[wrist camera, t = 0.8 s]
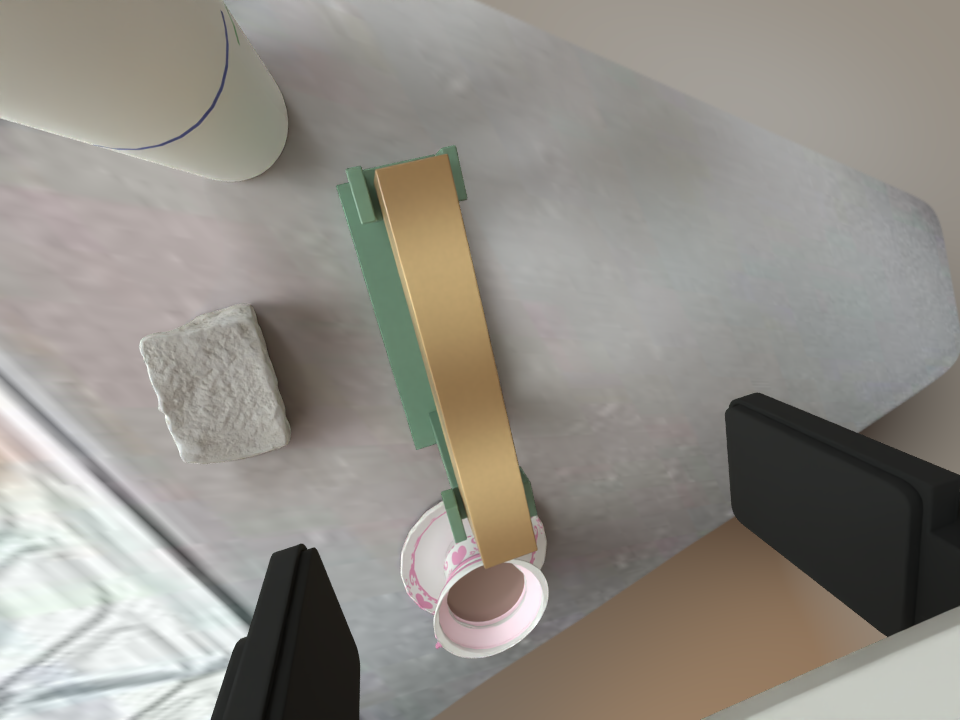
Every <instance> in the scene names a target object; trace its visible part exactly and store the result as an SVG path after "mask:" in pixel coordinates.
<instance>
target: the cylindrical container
mask: <svg viewBox="0 0 960 720" xmlns="http://www.w3.org/2000/svg"><path fill="white" fill-rule="evenodd" d="M0 118H1V119H5V120H8V121H12V122H15V123H19V124H22V125H26V126H29V127H33V128H36V129H39V130H43V131H46V132H50V133H53V134H57V135H60V136H64V137H67V138H71V139H74V140H78V141H81V142H85V143H88V144H92V145H95V146H98V147H102V148H105V149H109V150H112V151H116V152H119V153H123V154H126V155H129V156H133V157H136V158H140V159H143V160H147V161H150V162H154V163H157V164H161V165H164V166H167V167H171V168H174V169H178V170H181V171H185V172H188V173H192V174H195V175H199V176H202V177H206V178H209V179H213V180H218V181H224V182H237V181H243V180H248V179H251V178H253V177H255V176H258V175H260V174H262V173H263V172H264V171H266V170H267V169H268V168H270V167H271V166H272V165H273V164H274V162H275V161H276V160H277V159H278V158H279V156H280V154H281V152H282V150H283V148H284V146H285V142H286V138H287V134H288V116H287V109H286V105H285V102H284V99H283V96H282V94H281V92H280V90H279V88H278V86H277V84H276V82H275V80H274V79H273V77H272V76H271V74H270V73H269V71H268V70H267V68H266V67H265V65H264V63H263V62H262V60H261V59H260V57H259V56H258V54H257V53H256V51H255V50H254V48H253V47H252V45H251V43H250V42H249V40H248V39H247V37H246V36H245V34H244V33H243V31H242V30H241V28H240V26H239V25H238V23H237V22H236V20H235V19H234V17H233V16H232V14H231V13H230V11H229V10H228V8H227V6H226V5H225V3H224V2H223V0H0Z"/></svg>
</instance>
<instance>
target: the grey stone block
mask: <svg viewBox="0 0 960 720" xmlns="http://www.w3.org/2000/svg"><path fill="white" fill-rule="evenodd" d="M139 348H140V352H141V354H142V355H143V357H144V363H145V364H146V365H147V370H148V374H149V378H150V381H151V383H152V387H153V389H154V391H155V393H156V394H157V397H158V402H159V406H158V409H159V411H161V412H163V413H164V414H165V420H166V424H167V427H168V428H169V430H170V433H171V434H172V436H173V439H174V441H175V443H176V445H177V447H178V449H179V452H180V456H181V458H182V460H183V461H184V462H185V463H198V464H210V463H222V462H226V461H234V460H239V459H245V458H248V457H252V456H256V455H259V454H263V453H266V452H270V451H272V450H277V449H279V448H282V447H283V446H285V445H287V444H288V443H289V441H290V439H291V437H290V434H291V428H290V424H289V422H288V420H287V418H286V416H285V405H284V403H283V400H282V397H281V395H280V393H279V390H278V387H277V386H278V385H277V383H278V380H277V378H276V375H275V371H274V368H273V365H272V363H271V360H270V358H269V356H268V352H267V350H266V344H265V340H264V337H263V335H262V331H261V328H260V326H259V325H258V321H257V317H256V314H255V312H254V309H253V307H252V306H251V305H249V304H244V303H243V304H237V305H234V306H231V307H229V308H225V309H221V310H217V311H214V312H210V313H207V314H203V315H201V316H198V317H196V318H195V319H194V320H192V321H191V322H189V323H187V324H185V325H184V326H181V327H179V328H177V329H174V330H171V331H168V332H158V333H154V334H151V335H148V336H146V337H144V338H143V339H142V340H141V341H140V346H139Z"/></svg>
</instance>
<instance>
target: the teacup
mask: <svg viewBox="0 0 960 720" xmlns="http://www.w3.org/2000/svg"><path fill="white" fill-rule="evenodd" d="M462 522H463V525H464V529H465V532H466V536H467V540H465V541H462V542H459V543H455V540H454V537H453V533H452V530H451V527H450V523H449V520H448V516H447V513H446V510H445V506H444V502H443V501H441V502H440V503H438V504H437V505H435V506H434V507H433V508H431V509H430V510H428V511H427V512H425V513H424V514H423V516H422V517H421V518H420V519H419V520H418V522H417V523H416V524H415V525H414V526H413V528H412V529H411V530H410V531H409V534H408V536H407V539H406V541H405V544H404V546H403V549H402V551H401V570H400V574H401V577H402V580H403V583H404V586H405V588H406V591H407V594H408V595H409V596H410V597H411V598H412V599H413V600H414V601H415V602H416V603H417V605H418V606H419V607H420V608H422V609H424V610H426V611H428V612H430V613H432V614H434V631H435V637H436V639H438V642H437V644H436V648H437V649H438V648H439V647H442V648H444V649H446V650H447V651H448V652H450V653H452V654H454V655H456V656H460V657H464V658H482V657H488V656H491V655H495V654H498V653H500V652H502V651H505V650H507V649H509V648H510V647H512V646H514V645H515V644H517V643H518V642H520V641H521V640H522V639H523V638H525V637H526V636H527V635H528V634H529V633H530V632H531V631H532V630H533V629H534V627H535V626H536V625H537V623H538V622H539V620H540V619H541V617H542V615H543V613H544V611H545V609H546V606H547V602H548V584H547V581H546V579H545V577H544V575H543V573H542V572H541V571H540V570H541V568H542V566H543V564H544V562H545V555H546V547H547V540H546V535H545V531H544V527H543V523H542V521H541V520H540V519H539V517H538V516H534V517H531V522H532V526H533V530H534V535H535V539H536V544H537V548H538V550H537V551H535V552H532V553H529V554H526V555H524V556H521V557H518V558H515V559H513V560H510V561H507V562H504V563H501V564H499V565H496V566H493V567H490V568H488V569H485V568H484V565H483V562H482V559H481V556H480V553H479V550H478V547H477V544H476V542H475V539H474V536H473V533H472V530H471V527H470V524H469V521H468V518H465V519H462Z"/></svg>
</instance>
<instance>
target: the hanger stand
mask: <svg viewBox="0 0 960 720" xmlns="http://www.w3.org/2000/svg"><path fill="white" fill-rule="evenodd" d="M443 154H448V156H449V161H450V165H451V169H452V174H453V178H454V183H455V187H456V191H457V196H458V200H459V202H460V201H464V200H467V194H466V189H465V185H464V180H463V176H462V171H461V167H460V162H459V157H458V153H457V148H456V146H455V145H453V146H448V147H443V148H441V149H440V150H439V151H438V152H437V153H436V156H438V155H443ZM434 156H435V155H434V154H433V155H428V156H424V157H419V158H415V159H410V160H406V161H401V162H397V163H392V164H388V165H383V166H379V167H374V168H369V169H365V170H362V167H361V166H357V167H352V168H347V169H346V174H347V177H348V181H349V183H344V184H340V185H337V186H336V187H337V190H338V194H339V197H340V200H341V204H342V207H343V210H344V214H345V217H346V220H347V223H348V227H349V230H350V233H351V237H352V240H353V243H354V246H355V250H356V253H357V256H358V260H359V263H360V266H361V269H362V273H363V276H364V279H365V283H366V286H367V289H368V292H369V296H370V299H371V302H372V306H373V309H374V312H375V316H376V319H377V322H378V325H379V329H380V332H381V335H382V339H383V342H384V345H385V348H386V352H387V355H388V358H389V362H390V365H391V368H392V371H393V375H394V378H395V381H396V385H397V388H398V391H399V394H400V398H401V401H402V404H403V408H404V411H405V414H406V418H407V421H408V424H409V427H410V431H411V434H412V437H413V441H414V444H415V447H416V450H418V449H421V448H424V447H427V446H431V445H434V444H437V445H438V448H439V451H440V455H441V458H442V461H443V464H444V467H445V470H446V473H447V476H448V480H449V483H450V486H451V489H449V490H446V491H443V492H441V495H442V499H443V502H444V506H445V510H446V513H447V516H448V520H449V523H450V527H451V530H452V533H453V537H454V540H455V543H459V542H462V541H465V540H467V536H466V532H465V529H464V525H463V522H462V519H465V518H467V515H466V512H465V509H464V506H463V502H462V498H461V495H460V491H459V488H458V484H457V480H456V477H455V473H454V470H453V466H452V463H451V459H450V455H449V452H448V448H447V445H446V441H445V438H444V434H443V430H442V427H441V423H440V420H439V416H438V412H437V409H436V405H435V402H434V398H433V395H432V391H431V387H430V384H429V380H428V377H427V373H426V370H425V366H424V362H423V359H422V355H421V352H420V348H419V344H418V341H417V337H416V334H415V330H414V327H413V323H412V319H411V316H410V312H409V309H408V305H407V301H406V298H405V294H404V291H403V287H402V284H401V280H400V276H399V273H398V269H397V266H396V262H395V259H394V255H393V251H392V248H391V244H390V241H389V237H388V233H387V230H386V226H385V223H384V219H383V216H382V212H381V208H380V205H379V201H378V198H377V194H376V191H375V187H374V175H375V170H376V169H379V168H384V167H388V166H393V165H397V164H402V163H407V162H411V161H416V160H420V159H425V158H429V157H434ZM519 469H520V473H521V478H522V482H523V486H524V491H525V495H526V500H527V504H528V508H529V513H530V517H534V516H537V510H536V506H535V501H534V497H533V492H532V488H531V483H530V481H529V479H528V478H527V476H526V474H525V473H524V471H523V470H522V468H521V467H520V466H519Z"/></svg>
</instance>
